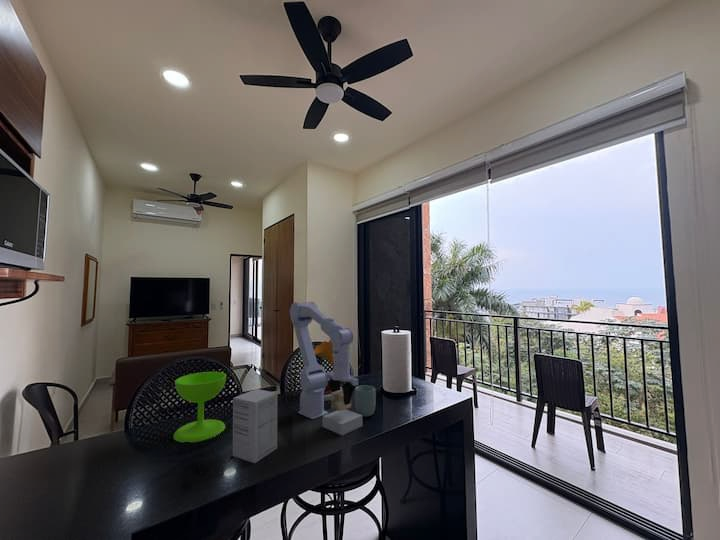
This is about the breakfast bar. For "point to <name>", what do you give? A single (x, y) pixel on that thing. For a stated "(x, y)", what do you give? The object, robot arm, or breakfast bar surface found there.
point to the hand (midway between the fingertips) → (341, 402)
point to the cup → (365, 400)
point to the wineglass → (200, 404)
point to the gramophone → (327, 352)
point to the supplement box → (254, 425)
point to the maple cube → (338, 400)
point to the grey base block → (342, 421)
